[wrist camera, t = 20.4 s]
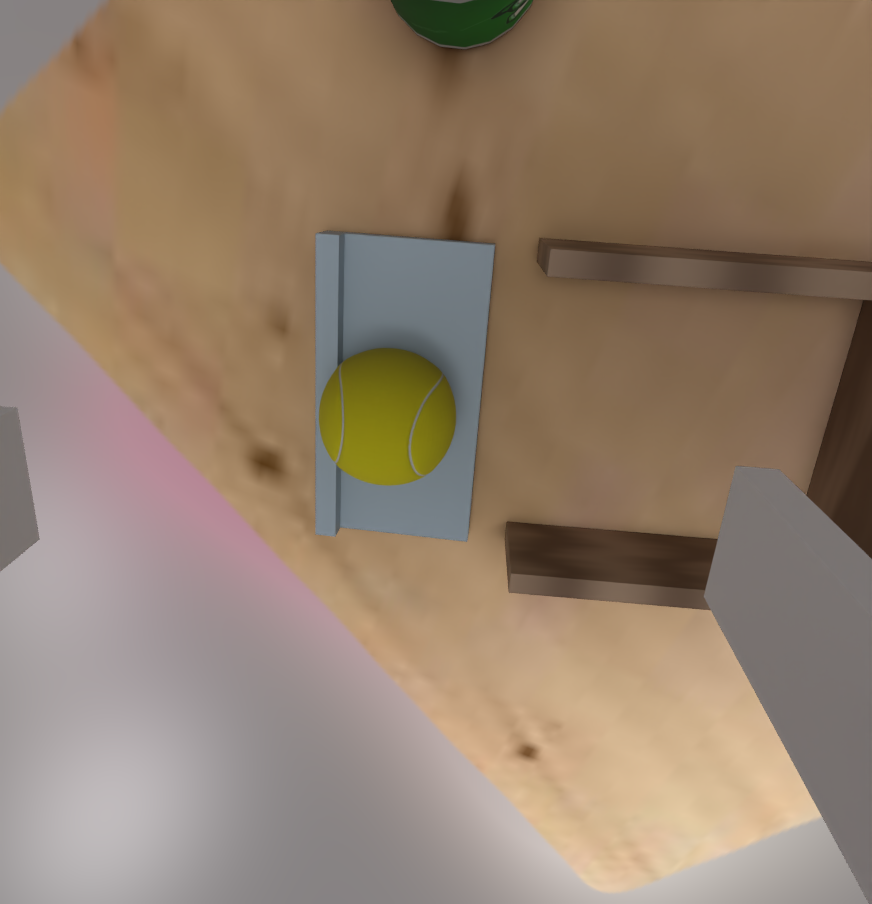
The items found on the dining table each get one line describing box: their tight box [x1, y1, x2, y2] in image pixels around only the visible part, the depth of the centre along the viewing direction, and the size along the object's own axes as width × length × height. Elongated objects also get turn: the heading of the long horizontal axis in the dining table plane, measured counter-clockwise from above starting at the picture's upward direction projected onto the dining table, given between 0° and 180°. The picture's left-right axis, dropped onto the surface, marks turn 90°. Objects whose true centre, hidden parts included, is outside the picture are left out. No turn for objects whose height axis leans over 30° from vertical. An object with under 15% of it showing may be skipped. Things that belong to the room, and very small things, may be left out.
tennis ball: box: [319, 348, 456, 486], centre depth 36 cm, size 7×7×7 cm
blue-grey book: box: [316, 231, 495, 542], centre depth 39 cm, size 2×17×9 cm
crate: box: [505, 238, 872, 610], centre depth 36 cm, size 19×18×8 cm
